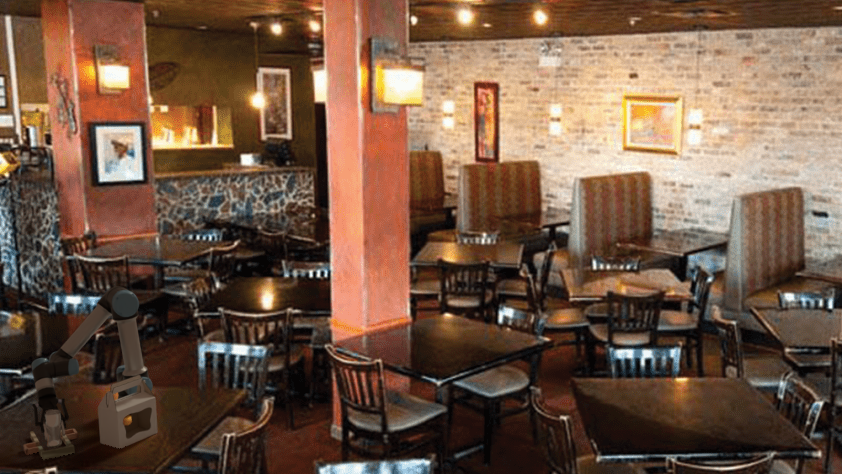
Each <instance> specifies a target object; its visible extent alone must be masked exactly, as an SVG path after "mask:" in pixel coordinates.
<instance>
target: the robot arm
mask: <svg viewBox="0 0 842 474" xmlns="http://www.w3.org/2000/svg"><path fill="white" fill-rule="evenodd" d="M139 307H140V301H139V299H138V297H137V295H136V294H135V293H134V292H133V291H131V290H129V289H127V288H126V287H123V286H119V285H118V286H113V287H111V288H109V289H108V290H107V291H106V292H105V293H104V294H103V295H102V297H101V298H99V300H98V301H97V302H96V306H95V308H94V309H93V310H92V311H91V312H90V314H89V315H88V316H87V317H86V318H85V319H84V320H83V321H82V323H81V324H80V325H79V326H78V327H77V328H76V330H75V331H74V332H73V333H72V334H71V335H70V336H69V338H67V340H66V341H65V342H64V343H63V344H62V346H60V348H59V349H58V350H57V351H54V352H52V353H51V354H50V355H49V359H48V358H47V357H40V358H36V359H34V360H33V361H32V363H31V372H32V377H33V381H34V385H35V391H36V396H37V403H32V405H31V409H32V411H33V418H34V419H33V420H34V426H35V427H39V428H40V432H41V434H44V439H45V441H48V435H47V430H46V426H45V423H44V413H45V412H46V411H49V410H60V409H59V408H58V404H59V405H60V407H61V411H62V412H61V418H62V427H61V430H62V435H63V436H65V430H66V429H67V423H66V421H68V420H69V418H70V415H69V413H68V409H67V406H66V403H65V401H66V399H65V398H61V399H59V397H57V393H56V389H55V383H54V379H57V378H58V379H59V378H65V377H71V376H75V375H78V374H79V373H80V365H79V364H80V363H79V361H78V359H77V358H74V357H75V356H76V355H77V354H78V353H79V352H80V350H81V349H82V348H83V347H84V346H85V345H86V343H88V342H89V340H90V339H91V337H92V336H94V335H95V333H96V332H97V331H98V330H99V329H100V328H101V326H102V325H103V324H104V323H105V322H106V321H107V319H109V317H112V320H113V321H114V322H115V323H117V329H118V336H119V341H120V348H121V352H122V354H121V355H122V358H123V365H119V366H118V367H117V368H116V380H117V381H116V383H117V382H120V381H122V380H125V379H128V378H131V377H134V376H137V375H140V376H141V378H142V380H145V383H146V385H147V386H148V387H149V389H150V390H151V392H153V388H154V387H153V382H152V380H151V378H150V376H149V375H150V374H149V370H148V367H147V366H145V364H144V360H143V354H142V349H141V342H140V336H139V331H138V324H137V318H138V317H139V311H138V309H139ZM137 387H138V386H134V387H132V388H129V389H126V390H123V391H120V392H118V393H117V399H119V398H122V397H125V396H128V395H130V394H133V393H136V392H137ZM144 392H145V391H144ZM39 407H40V408H41V409H42V411H41V416H40V417H41V418H40V421H39V413H38V408H39Z"/></svg>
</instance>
